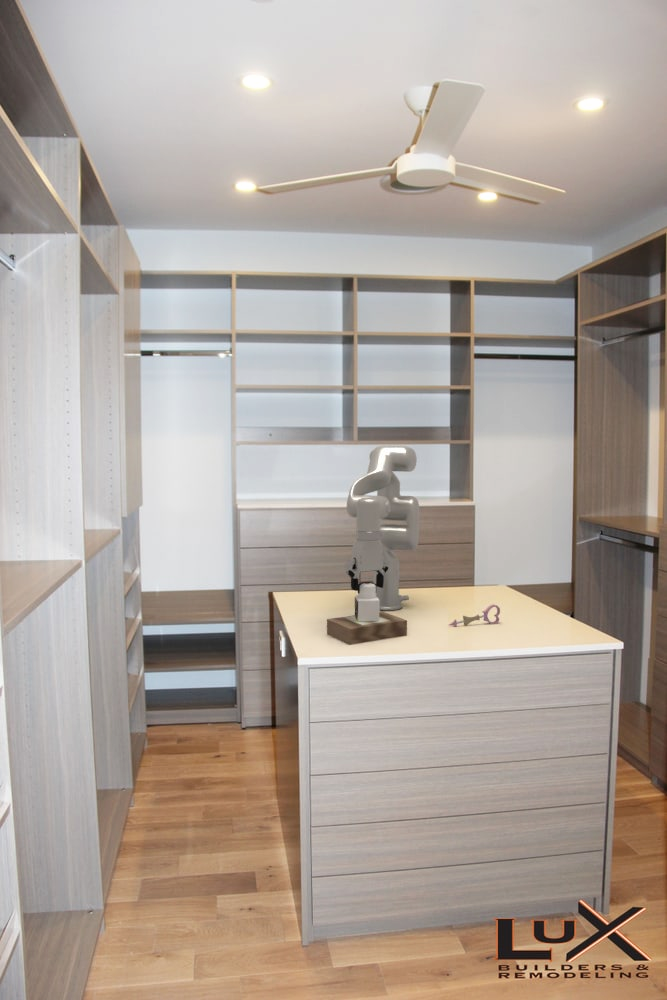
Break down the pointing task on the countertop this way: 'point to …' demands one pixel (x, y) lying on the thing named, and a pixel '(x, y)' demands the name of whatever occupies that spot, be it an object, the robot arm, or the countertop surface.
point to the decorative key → (478, 617)
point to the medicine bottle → (366, 603)
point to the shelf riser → (366, 628)
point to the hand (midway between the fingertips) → (367, 588)
